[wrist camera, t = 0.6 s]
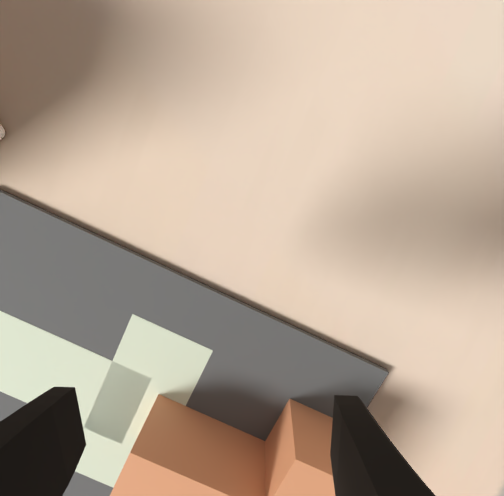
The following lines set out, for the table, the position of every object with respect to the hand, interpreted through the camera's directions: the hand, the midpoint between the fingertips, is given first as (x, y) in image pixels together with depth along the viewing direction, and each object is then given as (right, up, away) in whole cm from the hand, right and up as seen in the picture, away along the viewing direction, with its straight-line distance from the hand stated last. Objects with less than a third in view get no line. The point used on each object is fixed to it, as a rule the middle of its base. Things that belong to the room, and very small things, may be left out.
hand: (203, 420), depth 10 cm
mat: (-6, -5, +12) cm, 14 cm away
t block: (0, -8, +12) cm, 14 cm away
